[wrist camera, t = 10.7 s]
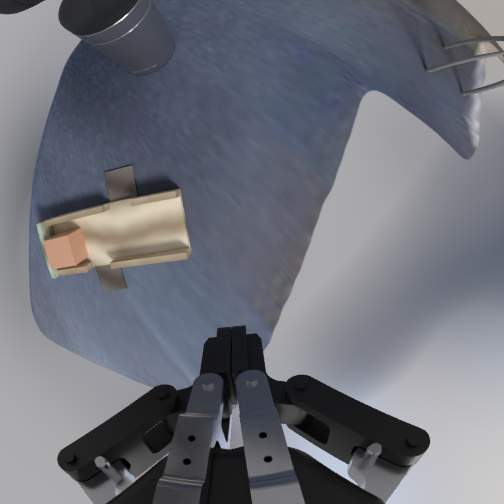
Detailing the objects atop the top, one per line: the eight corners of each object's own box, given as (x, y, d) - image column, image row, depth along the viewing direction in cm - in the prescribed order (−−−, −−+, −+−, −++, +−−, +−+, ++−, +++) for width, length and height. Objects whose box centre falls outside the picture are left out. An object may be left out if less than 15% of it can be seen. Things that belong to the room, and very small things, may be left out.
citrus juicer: (443, 45, 31) (548, 17, 2) (471, 82, 33) (576, 74, 5) (424, 70, 33) (548, 41, 5) (454, 109, 36) (576, 109, 7)
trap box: (45, 191, 37) (30, 195, 33) (175, 155, 37) (168, 155, 33) (72, 292, 44) (61, 303, 39) (197, 279, 44) (193, 292, 40)
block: (57, 234, 39) (43, 241, 34) (81, 228, 39) (67, 235, 34) (64, 260, 40) (51, 269, 36) (88, 255, 40) (76, 265, 36)
